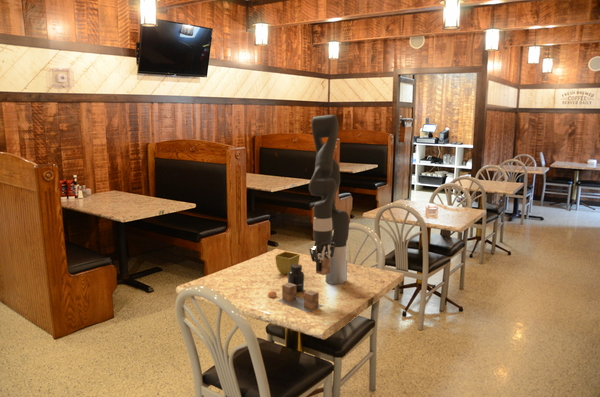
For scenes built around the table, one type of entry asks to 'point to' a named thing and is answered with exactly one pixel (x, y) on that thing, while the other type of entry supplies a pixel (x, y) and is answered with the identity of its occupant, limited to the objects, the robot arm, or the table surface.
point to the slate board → (298, 304)
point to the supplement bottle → (296, 277)
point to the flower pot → (286, 261)
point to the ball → (272, 294)
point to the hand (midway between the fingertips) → (322, 269)
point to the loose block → (325, 266)
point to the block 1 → (289, 292)
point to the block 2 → (311, 300)
